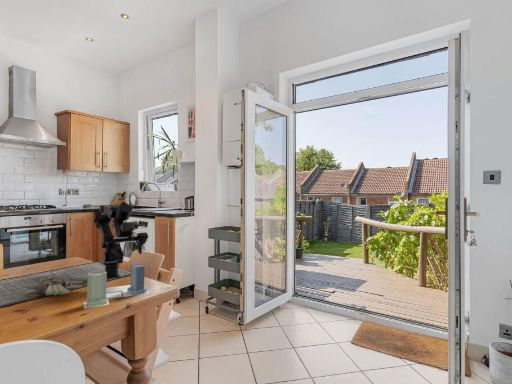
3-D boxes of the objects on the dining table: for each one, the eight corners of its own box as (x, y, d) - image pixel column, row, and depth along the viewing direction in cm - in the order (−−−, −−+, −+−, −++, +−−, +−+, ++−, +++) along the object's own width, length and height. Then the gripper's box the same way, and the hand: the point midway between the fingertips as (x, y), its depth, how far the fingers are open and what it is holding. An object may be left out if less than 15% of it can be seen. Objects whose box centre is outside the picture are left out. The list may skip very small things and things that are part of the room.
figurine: (75, 272, 131) (92, 280, 121) (73, 286, 131) (90, 295, 120) (19, 278, 115) (33, 288, 105) (17, 294, 115) (31, 305, 105)
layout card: (81, 292, 120) (81, 290, 120) (141, 284, 132) (141, 283, 132) (83, 309, 102) (84, 308, 102) (152, 298, 114) (152, 297, 114)
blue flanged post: (127, 291, 121) (128, 264, 121) (140, 288, 124) (141, 262, 124) (133, 295, 116) (133, 267, 116) (146, 292, 120) (147, 265, 120)
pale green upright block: (87, 306, 103) (88, 275, 104) (86, 303, 107) (87, 272, 107) (106, 303, 107) (107, 273, 107) (105, 300, 110) (106, 270, 110)
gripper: (103, 216, 124) (111, 245, 116) (147, 214, 137) (157, 241, 128) (97, 233, 130) (104, 262, 121) (140, 230, 142) (149, 256, 134)
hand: (130, 255), depth 126 cm, fingers open, 9 cm apart
